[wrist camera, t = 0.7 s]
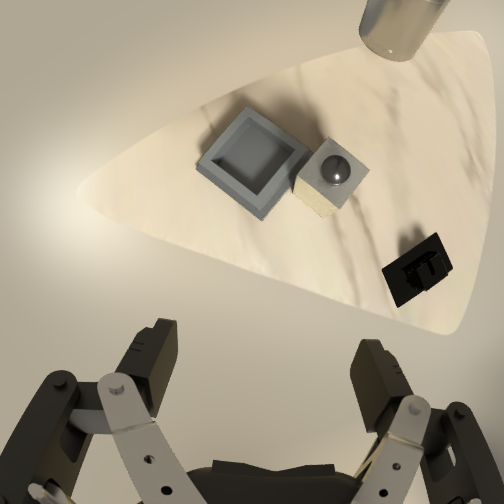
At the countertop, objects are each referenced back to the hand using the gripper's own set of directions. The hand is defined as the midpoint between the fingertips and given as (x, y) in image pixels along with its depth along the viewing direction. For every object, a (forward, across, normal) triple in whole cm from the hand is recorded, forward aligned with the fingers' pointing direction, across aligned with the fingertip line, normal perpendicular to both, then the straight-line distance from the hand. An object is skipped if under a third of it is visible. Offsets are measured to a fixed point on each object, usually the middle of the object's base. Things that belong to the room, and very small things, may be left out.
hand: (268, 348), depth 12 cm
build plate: (+21, -20, +3) cm, 29 cm away
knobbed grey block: (+24, -6, -4) cm, 25 cm away
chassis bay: (+25, +2, -6) cm, 26 cm away
